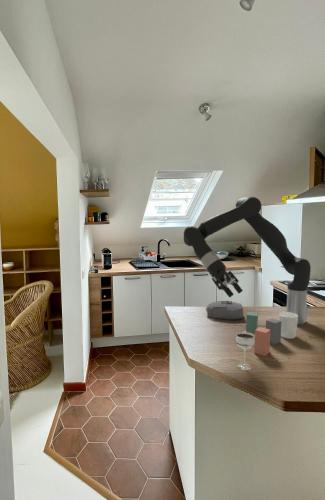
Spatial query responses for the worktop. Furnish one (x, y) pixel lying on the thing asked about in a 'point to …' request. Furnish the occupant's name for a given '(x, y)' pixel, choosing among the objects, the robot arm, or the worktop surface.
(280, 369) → the worktop surface
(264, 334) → the red pillar
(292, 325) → the white cup
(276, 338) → the charcoal pillar
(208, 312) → the grey rounded bag
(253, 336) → the wineglass
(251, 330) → the green pillar
